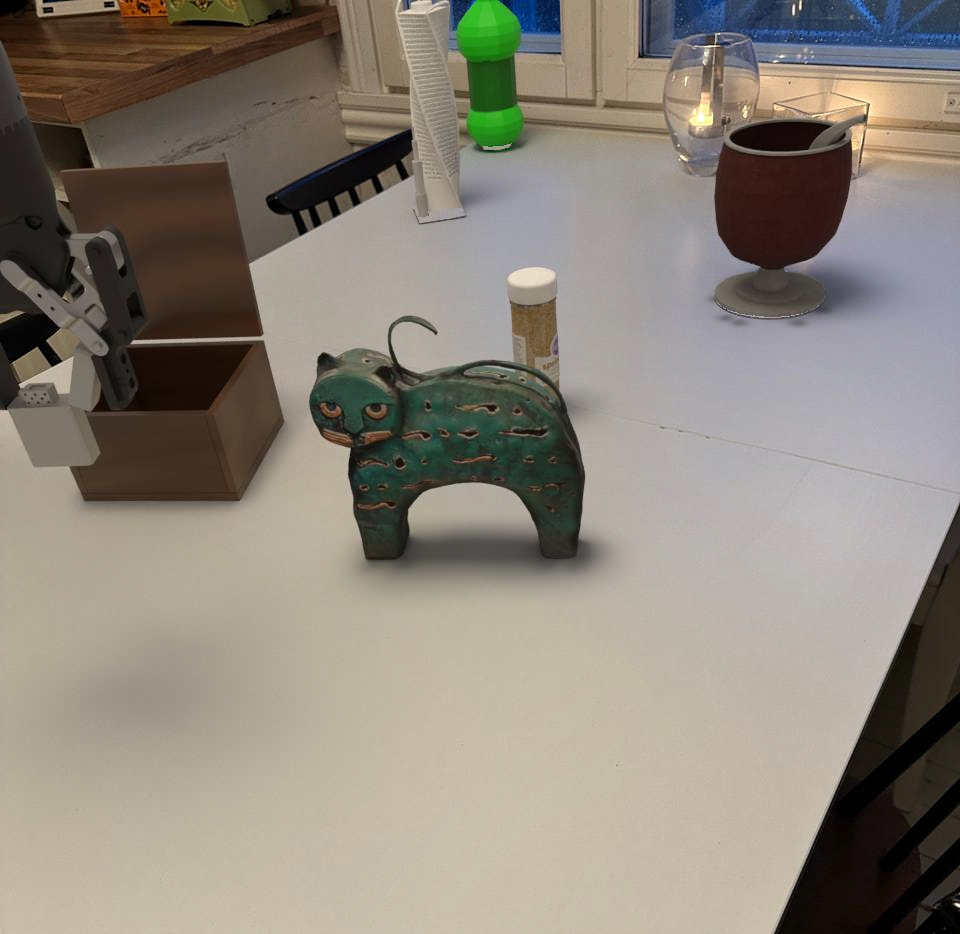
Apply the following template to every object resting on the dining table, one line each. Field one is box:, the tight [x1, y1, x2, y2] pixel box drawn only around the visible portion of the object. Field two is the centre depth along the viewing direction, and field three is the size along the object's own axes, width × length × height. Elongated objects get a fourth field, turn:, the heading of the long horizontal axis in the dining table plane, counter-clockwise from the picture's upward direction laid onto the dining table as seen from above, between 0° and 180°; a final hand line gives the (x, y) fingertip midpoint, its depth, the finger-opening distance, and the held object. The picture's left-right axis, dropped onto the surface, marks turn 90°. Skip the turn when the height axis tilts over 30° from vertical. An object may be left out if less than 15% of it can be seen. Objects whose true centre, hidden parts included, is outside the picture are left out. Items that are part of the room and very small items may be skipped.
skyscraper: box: [394, 0, 467, 225], centre depth 134 cm, size 8×8×28 cm
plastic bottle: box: [455, 0, 525, 152], centre depth 158 cm, size 10×10×25 cm
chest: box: [68, 339, 285, 501], centre depth 92 cm, size 15×16×9 cm
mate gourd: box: [713, 113, 868, 320], centre depth 103 cm, size 16×14×20 cm
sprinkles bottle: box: [506, 266, 561, 402], centre depth 91 cm, size 5×5×13 cm
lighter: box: [7, 340, 101, 468], centre depth 61 cm, size 7×2×8 cm, turn 87°
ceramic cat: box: [308, 315, 586, 560], centre depth 73 cm, size 20×6×20 cm, turn 82°
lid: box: [59, 159, 265, 341], centre depth 89 cm, size 15×16×1 cm
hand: (66, 404), depth 61 cm, fingers closed on lighter, 7 cm apart
